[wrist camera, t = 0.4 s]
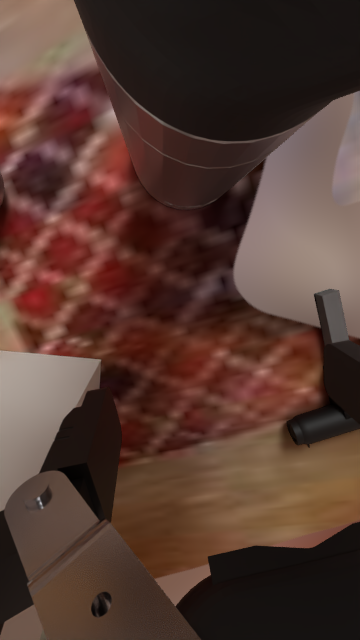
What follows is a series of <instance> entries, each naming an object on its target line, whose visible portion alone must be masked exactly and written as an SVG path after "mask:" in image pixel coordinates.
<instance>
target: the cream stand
mask: <svg viewBox="0 0 360 640" xmlns="http://www.w3.org/2000/svg"><path fill="white" fill-rule="evenodd" d="M100 372H101V359H90V358H78V357H67V356H56V355H45V354H33V353H22V352H11V351H0V511H2V510H4V509H5V506H6V503H7V501H8V499H9V498H10V496H11V495H12V494H13V492H14V491H15V490H16V489H17V488H18V487H19V486H20V485H22V484H23V483H24V482H25V481H27V480H28V479H30V478H32V477H33V476H36V475H38V474H39V472H40V470H41V467H42V465H43V463H44V461H45V458H46V456H47V454H48V452H49V450H50V447H51V445H52V443H53V441H55V436H56V434H57V432H59V428H60V425H61V423H62V421H63V419H64V418H65V417H66V416H67V415H68V413H69V412H70V411H71V410H72V409H73V408H76V407H81V405H82V403H83V400H84V398H85V395H86V393H87V391H90V390H95V389H100ZM42 630H43V627H42V625H41V622H40V619H39V616H38V614H37V611H36V608H35V605H32V606H31V607H29V608H27V609H26V610H24V611H22V612H21V613H19V614H17V615H15V616H14V617H12V618H10V619H9V620H7V621H5V622H4V625H3V629H2V632H1V635H0V640H40V637H41V634H42Z"/></svg>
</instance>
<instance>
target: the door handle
mask: <svg viewBox="0 0 360 640" xmlns="http://www.w3.org/2000/svg"><path fill="white" fill-rule="evenodd" d="M314 298H315V303H316V308H317V312H318V317H319V321H320V326H321V328H322V333H323V339H324V344H325V345H327V344H330V343H335V342H340V341H345V340H349V338H348V333H347V328H346V323H345V318H344V313H343V308H342V303H341V298H340V293H339V290H334V289H328V290H324V291H321V292H318V293H315V294H314ZM323 369H324V366H323ZM329 400H330V405H328V406H325V407H322V408H319V409H316V410H312V411H309V412H306V413H303V414H300V415H297V416H295V417H294V418H293V419H292V420H289V421H287V427H288V430H289V433H290V435H291V437H292V439H293V441H294V443H295V444H296V445H300V444H308V445H307V446H308V447H309V448H310V446H309V444H312V443H315V442H318V441H322V440H325V439H328V438H331V437H334V436H338V435H341V434H344V433H347V432H351V431H354V430H357V429H360V425H359V424H358V423H357V422H356V421H355V420H354V419H353V418H352V417H351V416H350V415H348V414H347V413H346V412H345V411H344V410H343V409H342V408H341V407H340V406H339V405H338V404H337V403H336V402H335V401H333V400H332V399H331V398H330V396H329Z"/></svg>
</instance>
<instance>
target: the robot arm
mask: <svg viewBox="0 0 360 640" xmlns="http://www.w3.org/2000/svg"><path fill="white" fill-rule="evenodd" d="M74 1H75V4H76V7H77V9H78V12H79V15H80V17H81V20H82V23H83V25H84V28H85V31H86V34H87V36H88V39H89V42H90V45H91V48H92V50H93V53H94V56H95V59H96V62H97V65H98V67H99V70H100V72H101V75H102V78H103V80H104V83H105V86H106V89H107V92H108V95H109V97H110V100H111V103H112V106H113V109H114V112H115V114H116V117H117V120H118V123H119V126H120V129H121V131H122V134H123V137H124V140H125V143H126V146H127V148H128V151H129V154H130V157H131V160H132V163H133V166H134V169H135V172H136V174H137V176H138V178H139V180H140V182H141V184H142V185H143V186H144V188H145V189H146V190H147V192H148V193H149V194H150V195H151V196H152V197H154V198H155V199H156V200H157V201H159V202H161V203H162V204H164V205H166V206H168V207H172V208H175V209H180V210H192V209H199V208H202V207H204V206H207V205H209V204H211V203H212V202H214V201H216V200H217V199H218V198H220V197H221V196H222V195H223V194H224V193H225V192H227V191H228V190H229V189H230V188H231V187H233V186H234V185H235V184H236V183H237V182H238V181H240V180H241V179H242V178H243V177H244V176H245V175H246V174H248V173H249V172H250V171H251V170H252V169H253V168H255V167H256V166H257V165H258V164H259V163H260V162H261V161H263V160H264V159H265V158H266V157H267V156H268V155H270V154H271V153H272V152H273V151H274V150H275V149H277V148H278V147H279V146H280V145H281V144H282V143H283V142H285V141H286V140H287V139H288V138H289V137H290V136H291V135H293V134H294V133H295V132H296V131H297V130H298V129H299V128H300V127H302V126H303V125H304V124H305V123H306V122H307V121H309V120H310V119H311V118H312V117H313V116H314V115H315V114H317V113H318V112H319V111H320V110H322V109H323V108H324V107H326V106H327V105H328V104H329V103H330V102H331V101H333V100H335V99H338V98H340V97H343V96H346V95H348V94H351V93H354V92H357V91H360V0H74ZM324 385H325V388H326V391H327V393H328V395H329V396H330V398H331V399H332V400H333V401H335V402H336V403H337V404H338V405H339V406H340V407H341V408H342V409H343V410H344V411H345V412H346V413H347V414H348V415H350V416H351V417H352V418H353V419H354V420H355V421H356V422H357V423H358V424H359V425H360V346H359V345H357V344H355V343H353V342H351V341H349V340H345V341H340V342H335V343H330V344H327V345H325V347H324ZM121 441H122V433H121V425H120V421H119V417H118V414H117V410H116V407H115V403H114V399H113V396H112V392H111V390H110V388H109V387H105V388H100V389H95V390H90V391H87V393H86V395H85V398H84V400H83V403H82V405H81V407H76V408H73V409H72V410H71V411H70V412H69V413H68V415H67V416H66V417H65V418H64V419H63V421H62V423H61V425H60V428H59V432H57V434H56V436H55V441H53V443H52V445H51V447H50V450H49V452H48V454H47V456H46V458H45V461H44V463H43V465H42V467H41V470H40V472H39V474H38V475H36V476H33V477H32V478H30V479H28V480H27V481H25V482H24V483H23V484H22V485H20V486H19V487H18V488H17V489H16V490H15V491H14V492H13V494H12V495H11V496H10V498H9V499H8V501H7V503H6V506H5V509H4V510H2V511H0V635H1V632H2V629H3V625H4V622H5V621H7V620H9V619H10V618H12V617H14V616H15V615H17V614H19V613H21V612H22V611H24V610H26V609H27V608H29V607H31V606H32V605H35V608H36V611H37V614H38V616H39V619H40V622H41V625H42V627H43V630H44V633H45V636H46V639H47V640H360V522H357V523H353V524H352V525H350V526H348V527H346V528H345V529H343V530H342V531H340V532H338V533H337V534H335V535H333V536H332V537H330V538H328V539H327V540H325V541H324V542H322V543H320V544H319V545H317V546H315V547H313V548H289V547H271V546H252V547H248V548H243V549H239V550H235V551H230V552H226V553H221V554H217V555H213V556H208V561H209V566H210V572H211V575H210V576H208V577H207V578H205V579H204V580H202V581H201V582H199V583H198V584H197V585H196V586H194V587H193V588H192V589H191V590H190V591H189V592H188V593H187V594H186V595H185V596H184V597H183V598H182V599H181V600H180V602H179V603H178V604H177V605H176V607H175V606H174V604H173V603H172V602H171V600H170V599H169V598H168V596H167V595H166V594H165V593H164V591H163V590H162V589H161V588H160V586H159V585H158V584H157V582H156V581H155V580H154V578H153V577H152V576H151V575H150V573H149V572H148V571H147V569H146V568H145V567H144V566H143V564H142V563H141V562H140V561H139V559H138V558H137V557H136V555H135V554H134V553H133V552H132V550H131V549H130V548H129V546H128V545H127V544H126V543H125V541H124V540H123V539H122V537H121V536H120V535H119V534H118V532H117V531H116V530H115V528H114V527H113V526H112V525H111V517H112V509H113V502H114V494H115V487H116V479H117V472H118V464H119V457H120V449H121Z"/></svg>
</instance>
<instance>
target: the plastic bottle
mask: <svg viewBox="0 0 360 640" xmlns="http://www.w3.org/2000/svg"><path fill="white" fill-rule="evenodd" d="M3 197H4V183H3V178H2V175H1V172H0V207H1V204H2V202H3Z"/></svg>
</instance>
